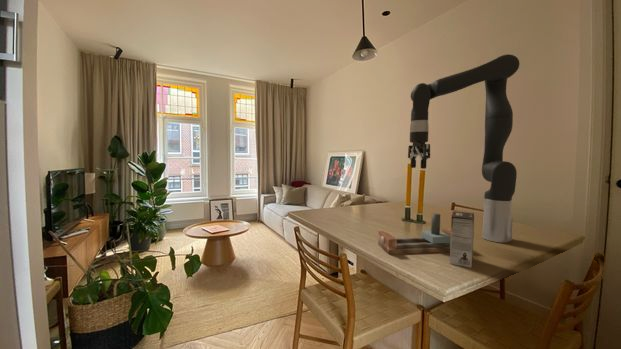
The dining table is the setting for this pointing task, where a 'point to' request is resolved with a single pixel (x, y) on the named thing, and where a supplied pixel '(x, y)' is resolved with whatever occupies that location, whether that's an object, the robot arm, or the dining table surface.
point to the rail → (411, 244)
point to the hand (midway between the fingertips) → (418, 168)
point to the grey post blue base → (435, 232)
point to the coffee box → (462, 239)
